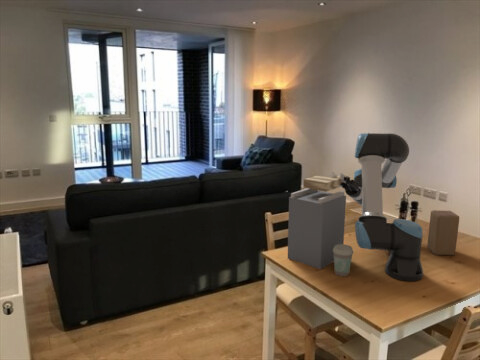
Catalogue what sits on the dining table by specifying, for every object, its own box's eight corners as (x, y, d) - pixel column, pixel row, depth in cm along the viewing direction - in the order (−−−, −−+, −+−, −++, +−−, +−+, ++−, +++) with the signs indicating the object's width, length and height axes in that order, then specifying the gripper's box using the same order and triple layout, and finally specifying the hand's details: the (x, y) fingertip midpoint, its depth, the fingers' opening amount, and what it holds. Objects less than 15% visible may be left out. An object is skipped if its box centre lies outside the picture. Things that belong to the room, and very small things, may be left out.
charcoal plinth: (311, 246, 195) (313, 185, 189) (342, 256, 183) (346, 191, 177) (287, 258, 181) (289, 192, 175) (320, 269, 169) (323, 199, 162)
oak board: (334, 178, 197) (334, 170, 196) (355, 181, 189) (356, 173, 188) (303, 187, 177) (303, 179, 176) (325, 191, 169) (326, 183, 168)
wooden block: (446, 248, 193) (451, 210, 189) (455, 256, 183) (460, 216, 179) (426, 247, 194) (430, 209, 189) (434, 255, 184) (438, 215, 180)
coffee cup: (327, 270, 168) (329, 245, 165) (344, 267, 171) (345, 242, 168) (339, 279, 160) (340, 252, 157) (356, 275, 163) (357, 249, 160)
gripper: (367, 200, 196) (349, 184, 179) (337, 194, 207) (318, 179, 191) (371, 187, 197) (354, 170, 180) (342, 182, 209) (323, 166, 192)
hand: (336, 175), depth 186 cm, fingers closed on oak board, 4 cm apart
